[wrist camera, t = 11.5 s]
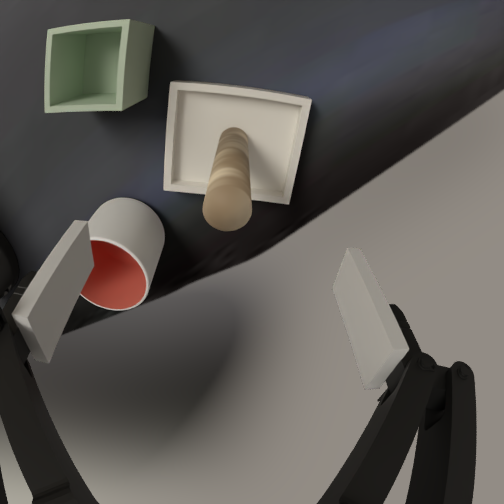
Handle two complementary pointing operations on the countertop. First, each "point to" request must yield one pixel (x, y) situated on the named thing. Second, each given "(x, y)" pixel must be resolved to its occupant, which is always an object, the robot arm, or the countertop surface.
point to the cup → (123, 253)
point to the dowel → (229, 183)
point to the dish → (241, 116)
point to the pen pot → (97, 66)
